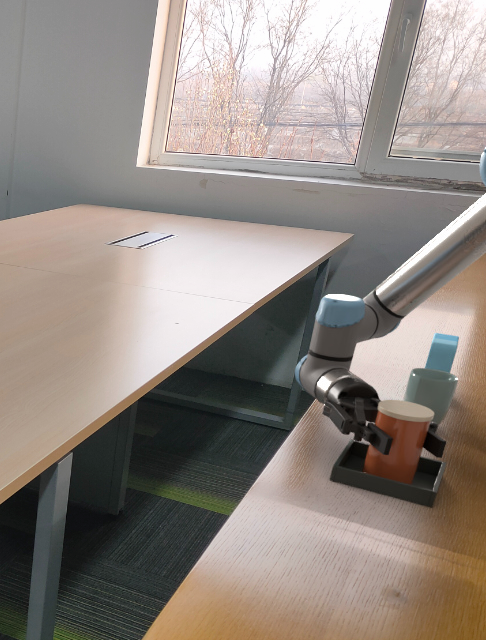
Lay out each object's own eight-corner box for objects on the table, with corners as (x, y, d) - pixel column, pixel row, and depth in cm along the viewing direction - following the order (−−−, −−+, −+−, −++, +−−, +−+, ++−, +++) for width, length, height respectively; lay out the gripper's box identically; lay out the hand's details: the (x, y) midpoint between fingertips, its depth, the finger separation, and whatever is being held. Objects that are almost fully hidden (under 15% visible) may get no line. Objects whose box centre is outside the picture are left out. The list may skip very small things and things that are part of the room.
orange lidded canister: (416, 477, 129) (437, 407, 125) (410, 493, 123) (431, 421, 119) (364, 464, 133) (382, 396, 129) (356, 479, 127) (374, 408, 123)
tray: (441, 479, 130) (446, 462, 129) (431, 511, 119) (436, 492, 118) (346, 455, 138) (350, 439, 136) (328, 483, 127) (333, 465, 126)
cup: (447, 434, 149) (463, 383, 145) (400, 427, 151) (415, 377, 148) (438, 420, 156) (453, 371, 152) (394, 413, 158) (407, 365, 154)
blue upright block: (441, 403, 165) (457, 347, 161) (416, 398, 168) (431, 343, 163) (443, 388, 175) (459, 334, 170) (420, 383, 177) (435, 331, 172)
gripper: (399, 419, 143) (475, 474, 122) (285, 413, 144) (341, 467, 123) (410, 379, 140) (490, 428, 119) (294, 373, 141) (353, 421, 120)
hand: (414, 448), depth 121 cm, fingers closed on orange lidded canister, 7 cm apart
